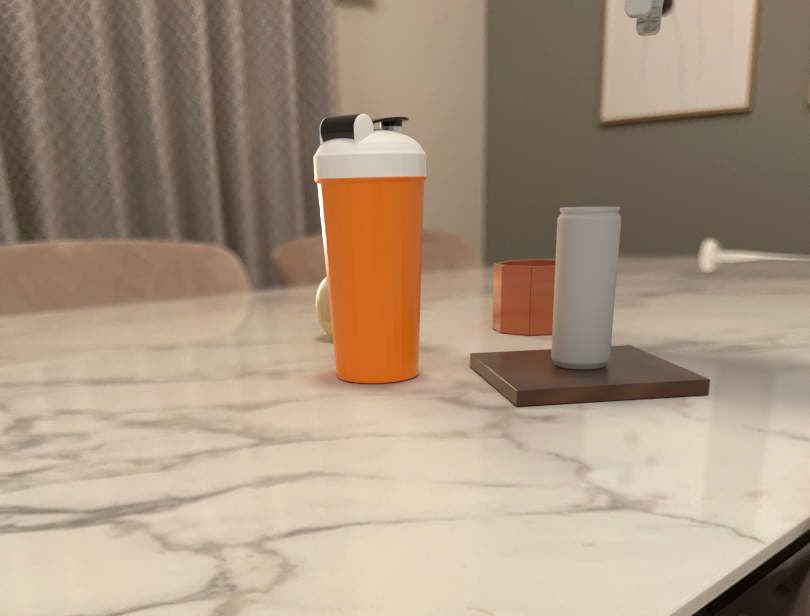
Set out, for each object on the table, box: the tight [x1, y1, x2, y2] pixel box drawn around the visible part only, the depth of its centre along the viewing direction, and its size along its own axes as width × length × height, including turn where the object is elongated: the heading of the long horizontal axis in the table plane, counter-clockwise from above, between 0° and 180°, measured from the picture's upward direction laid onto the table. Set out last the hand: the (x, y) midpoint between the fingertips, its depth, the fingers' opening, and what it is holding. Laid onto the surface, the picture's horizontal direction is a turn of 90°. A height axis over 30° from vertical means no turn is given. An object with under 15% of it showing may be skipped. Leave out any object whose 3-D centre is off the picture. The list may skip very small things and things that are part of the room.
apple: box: [315, 276, 333, 338], centre depth 90 cm, size 8×8×8 cm
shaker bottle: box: [312, 113, 428, 384], centre depth 69 cm, size 9×9×20 cm
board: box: [469, 344, 711, 407], centre depth 69 cm, size 15×15×1 cm
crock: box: [492, 258, 556, 336], centre depth 92 cm, size 8×8×7 cm
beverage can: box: [550, 205, 622, 370], centre depth 67 cm, size 5×5×12 cm
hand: (643, 26), depth 63 cm, fingers open, 8 cm apart
